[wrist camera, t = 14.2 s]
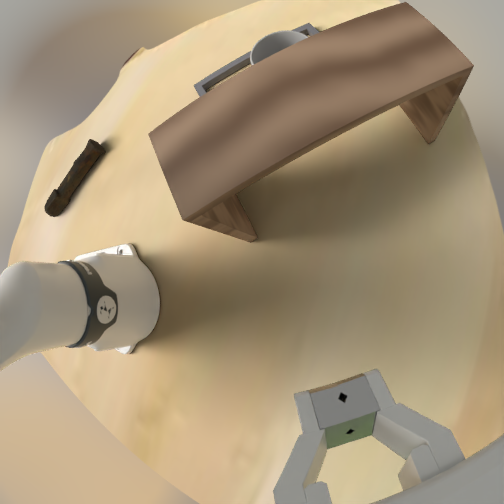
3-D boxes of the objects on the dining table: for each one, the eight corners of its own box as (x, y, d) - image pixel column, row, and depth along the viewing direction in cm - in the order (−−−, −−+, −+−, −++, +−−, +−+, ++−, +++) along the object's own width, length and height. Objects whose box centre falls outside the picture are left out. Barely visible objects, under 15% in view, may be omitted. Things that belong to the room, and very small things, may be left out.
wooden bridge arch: (434, 141, 35) (473, 65, 18) (250, 242, 42) (182, 220, 25) (394, 89, 37) (405, 2, 20) (221, 183, 44) (148, 133, 27)
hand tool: (101, 142, 54) (86, 134, 49) (108, 152, 53) (92, 145, 48) (54, 208, 57) (38, 205, 53) (58, 220, 56) (42, 217, 52)
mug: (288, 68, 43) (271, 23, 32) (335, 86, 40) (328, 40, 30) (248, 123, 44) (220, 85, 33) (295, 146, 41) (278, 108, 31)
